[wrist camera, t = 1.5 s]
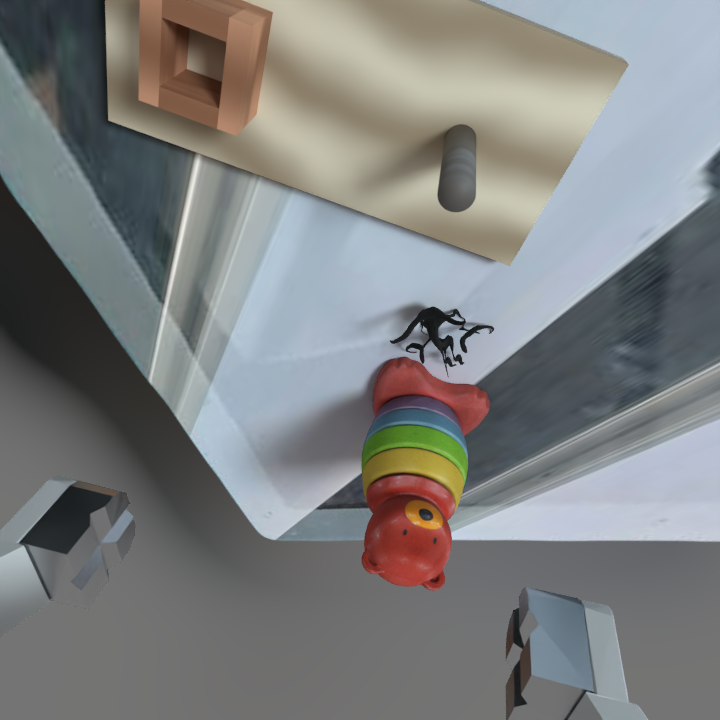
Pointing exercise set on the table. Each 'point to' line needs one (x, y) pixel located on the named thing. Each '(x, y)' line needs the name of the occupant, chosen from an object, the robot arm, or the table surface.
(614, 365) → the table surface
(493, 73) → the board
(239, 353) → the table surface
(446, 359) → the creature
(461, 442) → the stacking bear
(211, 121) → the bead
